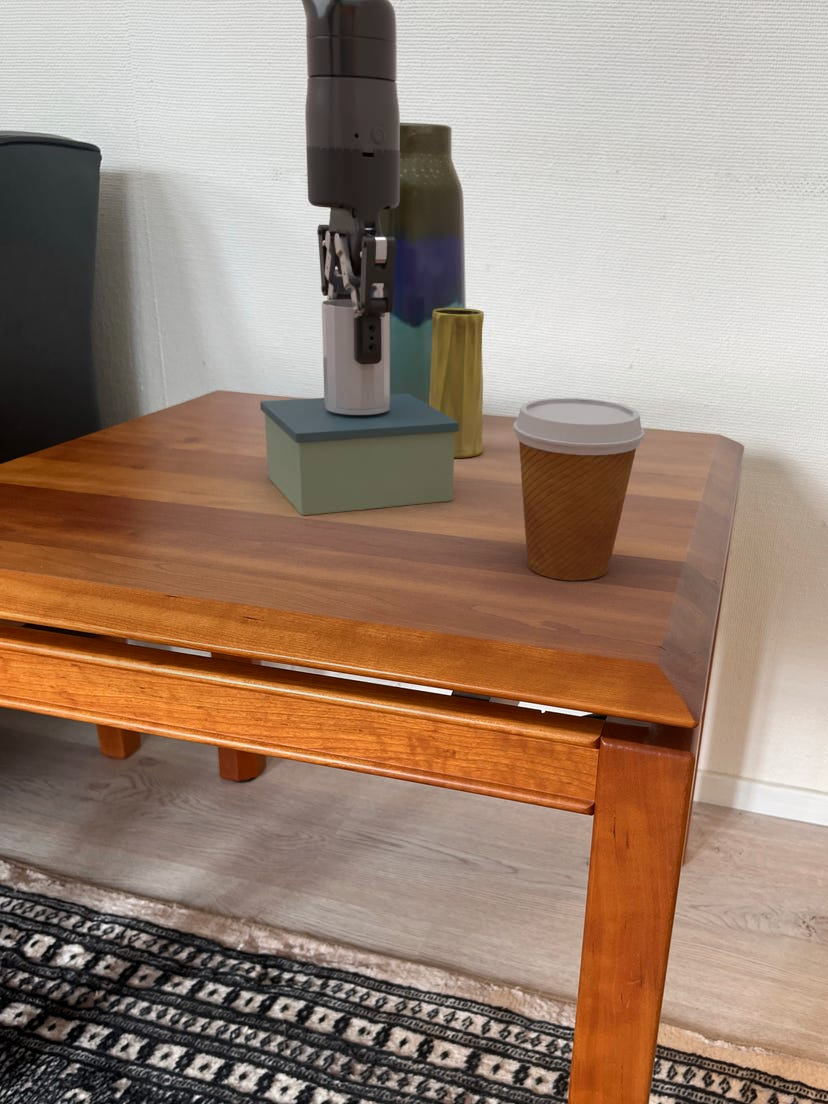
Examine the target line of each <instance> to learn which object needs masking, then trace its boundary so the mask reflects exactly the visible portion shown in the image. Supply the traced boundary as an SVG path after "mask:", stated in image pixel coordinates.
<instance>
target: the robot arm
mask: <svg viewBox="0 0 828 1104" xmlns="http://www.w3.org/2000/svg"><path fill="white" fill-rule="evenodd" d="M301 3H302V6H303V7H302V8H303V11H304V15H305V38H306V39H305V42H306V45H305V46H306V74H307V75H306V76H307V79H306V81H307V83H306V84H307V85H306V98H305V116H304V117H305V144H306V148H305V150H306V175H307V176H306V177H307V199H308V202H309V204H311V206H314V207H316V208H327V209H330V212H329V222H328V224H318V226H317V231H316V233H317V240H318V255H319V256H318V257H319V270H320V283H321V284H320V285H321V286H320V290H321V293H322V296H323V297H327V298H326V301H327V300H335V299H352V305H353V313H354V316H355V318H354V358H355V361H356V362H358V363H360V364H377V363H379V362H380V361H381V358H382V346H381V318H380V317H384V316H385V313H391V312H392V310H393V294H394V275H395V256H396V240H395V237H394V236H383V234H382V231H381V225H380V217H379V211H380V210H381V209H394V208H396V207H397V206H398V205H399V201H400V123H401V119H400V118H401V115H400V105H399V97H398V83H397V81H398V74H397V73H398V44H397V43H398V40H397V39H398V38H397V37H398V36H397V16H396V11H395V8H394V5H393V4H392V3H391V1H390V0H301ZM371 292H372V293H373V296H374V297H370V296H371Z"/></svg>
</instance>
